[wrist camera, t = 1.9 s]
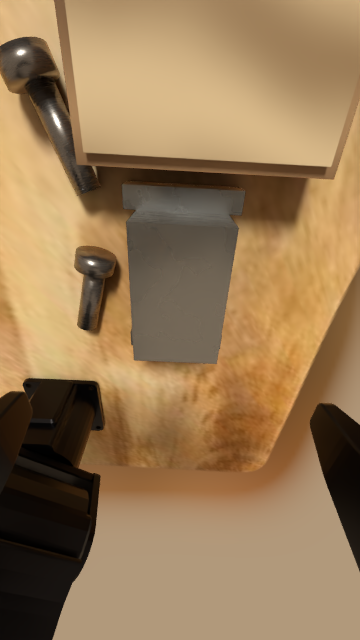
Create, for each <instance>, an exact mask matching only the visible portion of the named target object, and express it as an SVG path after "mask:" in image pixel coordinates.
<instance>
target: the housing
mask: <svg viewBox="0 0 360 640" xmlns="http://www.w3.org/2000/svg"><path fill="white" fill-rule="evenodd" d="M245 192H246V191H245V190H243V189H241V188H239V187H228V186H210V185H192V184H175V183H157V182H139V181H127V182H125V183H123V184H122V196H123V209H131V210H136V211H135V212H134V213H133V214H132V216H131V217H130V218H129V219H128V220H127V221H126V227H127V245H128V262H129V280H130V298H131V316H132V329H131V345H133V351H134V360H139V361H162V362H185V363H208V364H217V358H218V352H219V349H220V344H221V338H222V328H223V322H224V315H225V309H226V303H227V297H228V291H229V285H230V279H231V272H232V266H233V260H234V254H235V248H236V242H237V236H238V230H239V228H238V226H237V225H236V224H235V222H234V221H233V220H232V218H231V217H230V216H229V215H241V216H242V210H243V204H244V198H245Z"/></svg>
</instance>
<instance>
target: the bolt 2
mask: <svg viewBox="0 0 360 640" xmlns="http://www.w3.org/2000/svg"><path fill="white" fill-rule="evenodd" d="M115 264H116V256H115V255H114V254H113V253H111V252H110V251H108V250H105V249H102V248H99V247H94V246H81V247H78V248H77V249H76V254H75V263H74V267H75V269H76V270H77V271H78V272H80V273H82V274H84V277H83V285H82V292H81V300H80V307H79V314H78V322H77V325H78V327H79V328H81V329H83V330H94V329H95V328H96V327H97V323H98V318H99V313H100V307H101V302H102V296H103V291H104V285H105V280H106V278H108V277H111V276H112V275H113V274H114V269H115Z"/></svg>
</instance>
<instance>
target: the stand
mask: <svg viewBox="0 0 360 640" xmlns="http://www.w3.org/2000/svg"><path fill="white" fill-rule="evenodd" d="M54 2H55V9H56V17H57V24H58V31H59V38H60V46H61V53H62V60H63V68H64V75H65V82H66V90H67V97H68V104H69V112H70V119H71V126H72V133H73V141H74V148H75V155H76V163H77V165H91V166H108V167H125V168H143V169H160V170H178V171H195V172H212V173H230V174H247V175H264V176H282V177H299V178H317V179H334V177H335V174H336V171H337V168H338V165H339V162H340V159H341V155H342V152H343V149H344V146H345V143H346V140H347V137H348V134H349V130H350V127H351V124H352V121H353V118H354V115H355V112H356V108H357V105H358V102H359V99H360V0H54Z"/></svg>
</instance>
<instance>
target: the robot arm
mask: <svg viewBox="0 0 360 640" xmlns="http://www.w3.org/2000/svg"><path fill="white" fill-rule="evenodd" d="M91 386H92V387H91ZM23 387H24V390H25V392H21V391H11V392H9V393H7V394H5V395H4V396H2V397H1V398H0V640H52V639H53V636H54V632H55V629H56V626H57V623H58V620H59V617H60V614H61V611H62V608H63V605H64V602H65V600H66V597H67V595H68V592H69V590H70V587H71V585H72V583H73V582H74V581H75V579H76V578H77V577H78V575H79V574H80V572H81V570H82V568H83V566H84V564H85V562H86V560H87V557H88V554H89V552H90V548H91V545H92V542H93V538H94V534H95V527H96V517H97V507H98V495H99V486H100V475H98V474H95V473H93V474H92V473H89V472H87V471H84V470H81V469H78V467H79V464H80V461H81V458H82V455H83V452H84V449H85V446H86V443H87V440H88V437H89V434H90V431H91V430H97V431H100V430H103V428H104V418H103V412H102V405H101V399H100V393H99V387H98V384H97V383H96V382H94V381H80V380H57V379H33V378H28V379H26V380H25V381H24V383H23ZM310 428H311V432H312V435H313V439H314V443H315V446H316V450H317V453H318V457H319V461H320V465H321V468H322V472H323V475H324V478H325V481H326V484H327V487H328V489H329V492H330V495H331V497H332V500H333V502H334V505H335V508H336V510H337V513H338V516H339V518H340V521H341V523H342V526H343V529H344V531H345V534H346V537H347V539H348V542H349V544H350V547H351V550H352V552H353V555H354V558H355V560H356V563H357V565H358V568H359V571H360V425H359V424H358V423H357V422H355V421H354V420H353V419H352V418H350V417H349V416H348V415H347V414H346V413H344V412H343V411H342V410H341V409H339V408H338V407H337V406H336V405H334V404H331V403H319V404H318V405H317V407H316V409H315V411H314V413H313V415H312V417H311V420H310Z"/></svg>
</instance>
